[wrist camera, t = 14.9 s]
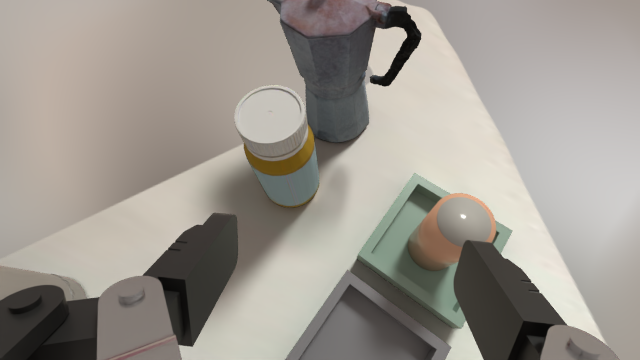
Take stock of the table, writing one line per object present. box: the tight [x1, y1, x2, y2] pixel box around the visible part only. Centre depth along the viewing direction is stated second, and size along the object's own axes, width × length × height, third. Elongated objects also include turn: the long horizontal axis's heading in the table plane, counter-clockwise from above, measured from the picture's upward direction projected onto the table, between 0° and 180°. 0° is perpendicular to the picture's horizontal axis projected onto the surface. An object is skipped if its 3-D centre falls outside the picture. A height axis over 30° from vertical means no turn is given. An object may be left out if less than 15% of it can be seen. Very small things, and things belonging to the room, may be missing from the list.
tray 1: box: [285, 270, 451, 360], centre depth 31 cm, size 12×12×2 cm
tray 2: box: [357, 173, 512, 329], centre depth 35 cm, size 12×12×2 cm
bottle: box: [234, 85, 319, 207], centre depth 33 cm, size 7×7×15 cm
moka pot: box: [267, 0, 421, 142], centre depth 35 cm, size 10×15×20 cm, turn 72°
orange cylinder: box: [408, 193, 496, 271], centre depth 31 cm, size 5×5×10 cm
